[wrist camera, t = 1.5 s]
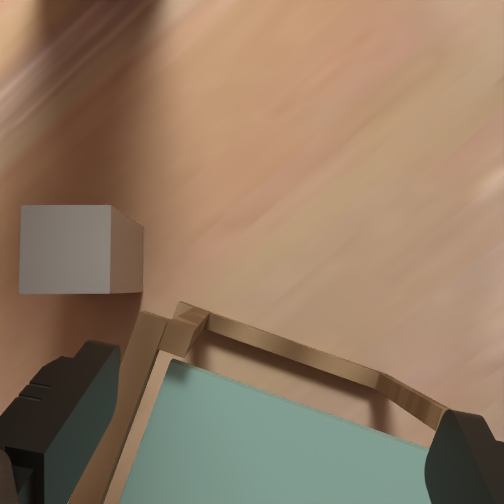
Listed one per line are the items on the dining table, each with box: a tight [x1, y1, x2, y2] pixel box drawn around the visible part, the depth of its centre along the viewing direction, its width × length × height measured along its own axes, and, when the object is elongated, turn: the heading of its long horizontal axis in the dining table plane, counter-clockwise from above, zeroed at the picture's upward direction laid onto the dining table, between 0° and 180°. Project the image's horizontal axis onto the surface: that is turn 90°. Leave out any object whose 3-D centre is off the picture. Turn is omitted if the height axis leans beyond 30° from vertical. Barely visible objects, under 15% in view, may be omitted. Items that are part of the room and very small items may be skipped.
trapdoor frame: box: [68, 302, 451, 504], centre depth 28 cm, size 17×18×17 cm
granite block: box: [18, 205, 143, 294], centre depth 31 cm, size 5×5×10 cm
